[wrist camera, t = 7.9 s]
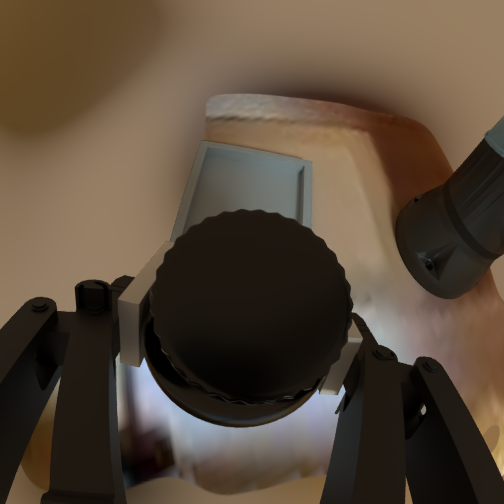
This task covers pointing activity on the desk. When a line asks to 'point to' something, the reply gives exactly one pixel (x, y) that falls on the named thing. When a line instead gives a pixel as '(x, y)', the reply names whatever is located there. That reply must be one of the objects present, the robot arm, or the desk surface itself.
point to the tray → (244, 185)
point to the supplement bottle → (245, 318)
